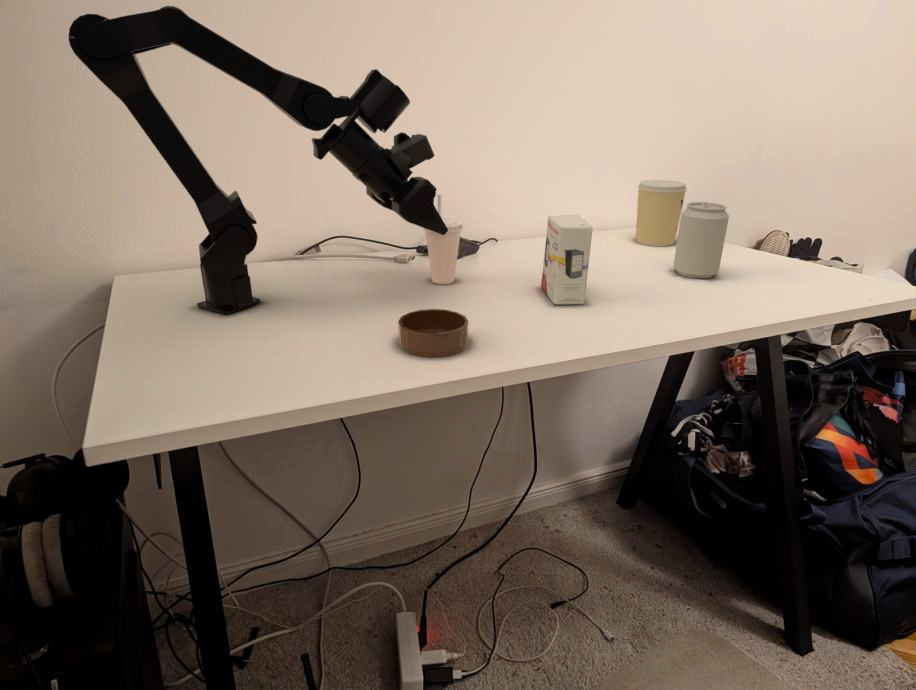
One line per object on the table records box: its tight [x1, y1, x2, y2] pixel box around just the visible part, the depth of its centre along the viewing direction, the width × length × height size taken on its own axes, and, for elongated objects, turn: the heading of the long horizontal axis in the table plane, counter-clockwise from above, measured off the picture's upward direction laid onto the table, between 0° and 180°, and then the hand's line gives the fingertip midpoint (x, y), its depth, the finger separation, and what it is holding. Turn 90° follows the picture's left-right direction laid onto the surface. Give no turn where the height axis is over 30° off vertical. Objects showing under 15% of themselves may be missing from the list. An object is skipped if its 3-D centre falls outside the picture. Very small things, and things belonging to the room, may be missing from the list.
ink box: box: [540, 214, 593, 305], centre depth 91 cm, size 9×5×12 cm, turn 6°
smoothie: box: [422, 194, 464, 285], centre depth 98 cm, size 6×6×14 cm
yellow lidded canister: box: [635, 179, 687, 247], centre depth 125 cm, size 9×9×12 cm
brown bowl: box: [397, 308, 470, 358], centre depth 76 cm, size 9×9×3 cm
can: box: [672, 201, 730, 279], centre depth 103 cm, size 8×8×12 cm
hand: (435, 226), depth 97 cm, fingers open, 9 cm apart
